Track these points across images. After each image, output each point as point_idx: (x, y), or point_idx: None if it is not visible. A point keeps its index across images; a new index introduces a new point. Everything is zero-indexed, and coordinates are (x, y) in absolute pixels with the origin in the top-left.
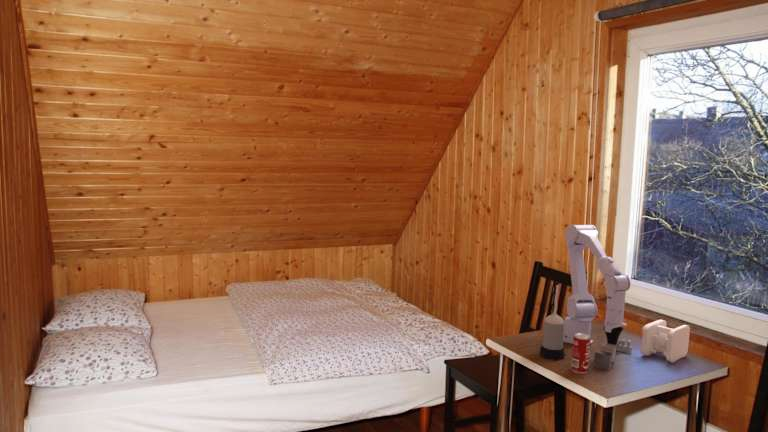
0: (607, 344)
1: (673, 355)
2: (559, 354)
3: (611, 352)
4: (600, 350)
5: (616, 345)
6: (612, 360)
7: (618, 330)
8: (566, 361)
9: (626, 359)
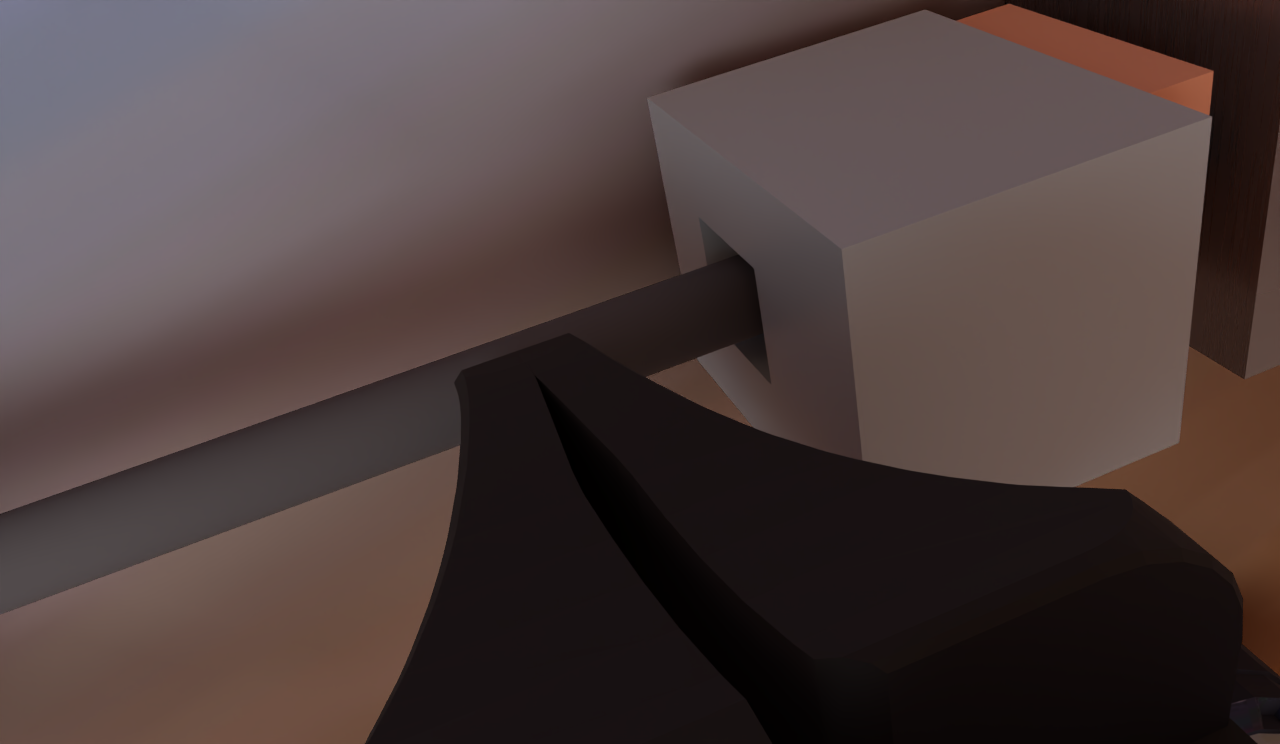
0: (976, 425)
1: None
2: (1240, 663)
3: (1201, 73)
4: (1269, 305)
5: (51, 545)
6: (926, 28)
7: (1049, 697)
8: (1179, 527)
9: (104, 14)
